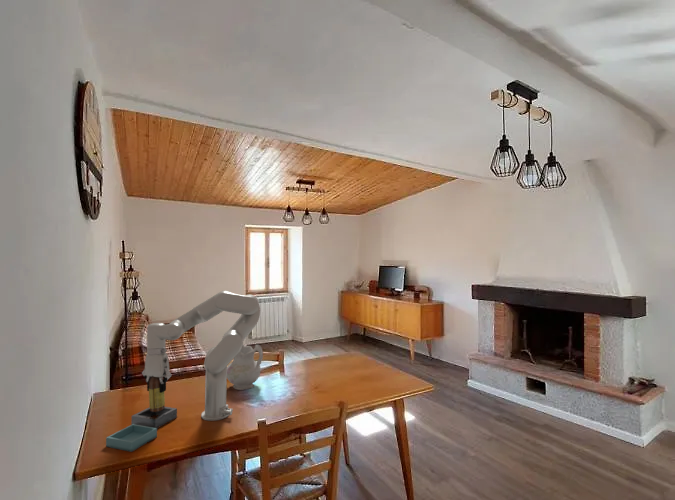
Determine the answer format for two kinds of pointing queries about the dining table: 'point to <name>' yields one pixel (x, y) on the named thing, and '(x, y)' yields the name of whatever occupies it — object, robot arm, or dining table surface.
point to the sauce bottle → (155, 395)
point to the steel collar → (146, 419)
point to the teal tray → (131, 437)
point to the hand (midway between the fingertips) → (156, 390)
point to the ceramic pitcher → (245, 368)
